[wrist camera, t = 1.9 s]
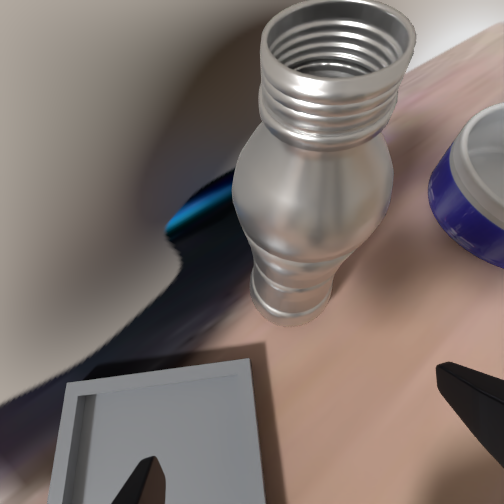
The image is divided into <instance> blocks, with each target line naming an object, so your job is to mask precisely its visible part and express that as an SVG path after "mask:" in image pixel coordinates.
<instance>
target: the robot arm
mask: <svg viewBox="0 0 504 504" xmlns="http://www.w3.org/2000/svg"><path fill="white" fill-rule="evenodd" d="M436 377H437V387H438V389H439V391H440V393H441V395H442V396H443V397H444V398H445V400H446V401H447V402H448V403H449V405H450V406H451V407H452V408H453V410H454V411H455V412H456V413H457V415H458V416H459V417H460V418H461V420H462V421H463V422H464V423H465V425H466V426H467V427H468V428H469V430H470V431H471V432H472V433H473V435H474V436H475V437H476V438H477V439H478V441H479V442H480V443H481V444H482V445H483V446H484V447H485V449H486V450H487V451H488V452H489V453H490V454H491V455H492V456H493V457H494V458H495V459H496V460H497V461H498V462H499V464H500V465H501V466H502V467H503V468H504V380H502V379H499V378H496V377H493V376H490V375H487V374H484V373H482V372H479V371H476V370H473V369H470V368H467V367H464V366H461V365H458V364H456V363H453V362H445V363H442V364H439V365H437V366H436ZM165 496H166V478H165V474H164V472H163V470H162V467H161V465H160V463H159V461H158V459H157V457H156V456H150V457H147V458H144V459H142V460H141V461H140V462H139V463H138V465H137V466H136V468H135V469H134V471H133V472H132V473H131V475H130V476H129V478H128V479H127V481H126V482H125V484H124V485H123V487H122V488H121V490H120V491H119V493H118V494H117V496H116V497H115V499H114V500H113V502H112V503H111V504H165Z"/></svg>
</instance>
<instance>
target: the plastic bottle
mask: <svg viewBox="0 0 504 504" xmlns="http://www.w3.org/2000/svg"><path fill="white" fill-rule="evenodd" d="M415 44H416V32H415V29H414V26H413V25H412V23H411V22H410V20H409V19H408V18H407V17H406V16H404V15H403V14H402V13H401V12H400V11H398V10H396V9H395V8H393V7H391V6H389V5H386V4H383V3H381V2H378V1H374V0H307V1H304V2H300V3H298V4H295V5H293V6H290V7H288V8H287V9H285V10H283V11H281V12H279V13H278V14H277V15H276V16H274V17H273V18H272V19H271V20H270V21H269V22H268V24H267V25H266V27H265V29H264V31H263V33H262V39H261V47H260V60H261V85H260V88H259V111H260V116H261V119H262V123H261V124H260V125H259V126H258V127H257V129H256V130H255V132H254V133H253V134H252V136H251V138H250V139H249V140H248V142H247V143H246V145H245V146H244V148H243V150H242V151H241V154H240V156H239V158H238V161H237V165H236V169H235V174H234V179H233V185H232V195H233V202H234V205H235V209H236V212H237V215H238V218H239V221H240V224H241V226H242V228H243V230H244V233H245V235H246V237H247V239H248V241H249V243H250V246H251V249H252V253H253V256H254V267H253V270H252V273H251V279H250V295H251V298H252V301H253V303H254V305H255V307H256V309H257V310H258V311H259V312H260V313H261V315H262V316H263V317H265V318H266V319H267V320H269V321H270V322H272V323H274V324H276V325H279V326H283V327H296V326H301V325H303V324H306V323H309V322H311V321H312V320H314V319H315V318H317V317H318V316H319V315H320V314H321V313H322V312H323V310H324V309H325V307H326V306H327V304H328V302H329V299H330V296H331V291H332V285H333V278H334V275H335V273H336V271H337V270H338V268H339V267H340V266H341V264H342V263H343V261H344V260H346V259H347V258H348V257H349V256H350V255H351V254H352V253H353V252H354V251H355V250H356V249H357V248H358V247H359V246H360V245H361V244H363V243H364V242H365V241H366V240H367V239H368V238H369V237H370V235H371V234H372V233H373V232H374V231H375V229H376V228H377V227H378V226H379V224H380V223H381V221H382V220H383V218H384V217H385V215H386V212H387V210H388V207H389V204H390V200H391V194H392V187H393V177H394V171H393V165H392V160H391V157H390V153H389V150H388V147H387V143H386V141H385V139H384V137H383V134H382V130H383V129H384V128H385V127H386V125H387V124H388V122H389V119H390V117H391V115H392V113H393V110H394V108H395V105H396V103H397V98H398V89H399V86H400V84H401V81H402V79H403V77H404V74H405V72H406V70H407V67H408V65H409V63H410V60H411V58H412V56H413V52H414V47H415Z"/></svg>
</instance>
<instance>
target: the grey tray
mask: <svg viewBox="0 0 504 504" xmlns="http://www.w3.org/2000/svg"><path fill="white" fill-rule="evenodd" d="M150 456H156V457H157V459H158V461H159V463H160V465H161V467H162V470H163V472H164V474H165V478H166V496H165V504H267V502H266V493H265V484H264V475H263V466H262V457H261V448H260V439H259V430H258V421H257V412H256V403H255V394H254V385H253V376H252V368H251V360H250V358H247V359H239V360H232V361H225V362H217V363H210V364H203V365H195V366H188V367H181V368H173V369H166V370H159V371H151V372H144V373H137V374H129V375H122V376H115V377H107V378H100V379H93V380H85V381H78V382H71V383H67V386H66V392H65V398H64V404H63V410H62V416H61V422H60V428H59V434H58V440H57V446H56V452H55V458H54V464H53V470H52V476H51V482H50V489H49V495H48V501H47V504H111V503H112V502H113V500H114V499H115V497H116V496H117V494H118V493H119V491H120V490H121V488H122V487H123V485H124V484H125V482H126V481H127V479H128V478H129V476H130V475H131V473H132V472H133V471H134V469H135V468H136V466H137V465H138V463H139V462H140V461H141V460H142V459H144V458H147V457H150Z"/></svg>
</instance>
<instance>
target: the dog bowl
mask: <svg viewBox="0 0 504 504" xmlns="http://www.w3.org/2000/svg"><path fill="white" fill-rule="evenodd" d="M428 198H429V203H430V206H431V209H432V212H433V214H434V216H435V218H436V219H437V221H438V223H439V224H440V225H441V227H442V228H443V229H444V230H445V231H446V233H447V234H448V235H449V236H450V237H451V238H452V239H453V240H455V241H456V242H457V243H458V244H459V245H461V246H462V247H463V248H465V249H466V250H467V251H469V252H470V253H472V254H474V255H475V256H477V257H479V258H481V259H482V260H484V261H487V262H489V263H491V264H493V265H496V266H498V267H501V268H504V102H503V103H499V104H496V105H493V106H490V107H488V108H485V109H484V110H482V111H480V112H479V113H477V114H476V115H474V116H473V117H472V118H471V119H470V120H469V121H468V122H467V124H466V125H465V126H464V128H463V129H462V130H461V132H460V133H459V135H458V136H457V137H456V139H455V140H454V142H453V143H452V144H451V146H450V147H449V149H448V150H447V151H446V153H445V154H444V156H443V157H442V159H441V160H440V162H439V163H438V165H437V166H436V168H435V169H434V171H433V172H432V175H431V177H430V180H429V185H428Z"/></svg>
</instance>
